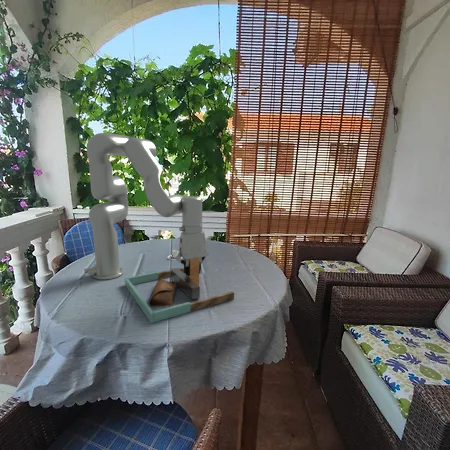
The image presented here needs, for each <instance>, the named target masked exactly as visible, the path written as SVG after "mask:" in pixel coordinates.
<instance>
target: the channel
mask: <svg viewBox="0 0 450 450" xmlns="http://www.w3.org/2000/svg"><path fill="white" fill-rule="evenodd" d="M177 268H178V267H177ZM178 269H179V270H181V271H182V272H183V273H184V266H183V267H179V268H178ZM157 272H158V271H157ZM184 274H185V273H184ZM185 275H186V274H185ZM160 278H162V279H164V278H171V269H169V270H164V271H159V272H158V279H157V280H159V279H160ZM234 299H235V291H230V292H225V293H221V294H218V295H215V296H210V297H208V298H207V297H206V298H203V299H200V300H196V301H192V302H189V303H190V312H195V311H197V310H201V309H203V308H207V307H212V306H214V305H217V304H221V303H225V302H229V301H231V300H234Z"/></svg>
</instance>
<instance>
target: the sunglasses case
mask: <svg viewBox="0 0 450 450" xmlns="http://www.w3.org/2000/svg"><path fill="white" fill-rule="evenodd" d="M178 287H179V286H178V285H177V284H175V283H174V282H171V281H167V280H165V279H164V278H160V279H157V282H156V284H155V286H154V288H153V291H152V292H151V293H152V294H151V297H150V300H149V306H151V307H172V306H174V296H175V294H176V291H177V288H178ZM151 307H150V308H151Z"/></svg>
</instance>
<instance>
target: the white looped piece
mask: <svg viewBox="0 0 450 450" xmlns="http://www.w3.org/2000/svg"><path fill="white" fill-rule="evenodd" d="M178 253H179V249H173V250H171V254H169V255H168V256H166V257H167V259H168V260H172V261H177V260H176V257H177V255H178ZM172 255H173V256H172ZM170 256H171V257H172V258H171V257H170ZM169 257H170V258H169ZM181 259H183V258H182V257H181Z"/></svg>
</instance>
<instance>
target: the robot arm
mask: <svg viewBox="0 0 450 450" xmlns="http://www.w3.org/2000/svg"><path fill="white" fill-rule="evenodd" d="M86 155H87V161H88V165H89V166H88V167H89V179H90V190H91V191H90V192H91V195H92V198H94V199H95V200H98V201H104V200H105V201H106V202H101V203H98V204H95V205H93V206H92V207H91V208H90V210H89V212H88V219H89V222H90V226H91V229H92V237H93V238H92V239H93V245H94V247H93V249H94V257H95V264H93V265H94V266H92V267H88V268H86V267H85V268H84V269H83V271H84V272H83V273H84V274H88V275H91V274H92V277H93V279H96V280H102V281H103V280H105V281H106V280H112V279H116V278H119V277H121V276H123V274H124V269H123V267H120V254H119V241H118V240H119V239H118V238H119V237H118V232H117V230H116V228H115V226H114V224H116V223H119V222H122V221H124V220H126V218H127V217H128V212H129V202H128V200H129V199H128V197H129V196H128V187H127V184H126V181H125V180H124V179H123V178H121V177H120V176H117V175H113V166H112V163H111V161H110V158H109V157H110V156H112V157H113V156H115V157H126V158H127V159H128V161H129V162H130V164H131V165H132V166H133V167H134V169H135V171H136V172H137V174H138V175H139V176H140V177H141V179H142V181H143V188H144V193H145V196H146V198H147V200H148V201H149V203H150V204H151V206H152V207H153V209H154V210H155V211H156V213H157V214H159V216H161V217H164V218H170V217H173V216H176V215H179V214H182V216H181V217H182V218H181V219H182V225H181V227H178V228H179V229H178V230H179V232H181V233H180V237H179V245H178V252H179V253H178V255H177V257H176V258H175V259H176V260H175V261H177V262H179V263H181V264H182V265H183V267H184V273H185V275H187V276H189V275H190V267H189V260H190V259H196V258H199V275H200V274H201V271H202V263H203V262H204V260H205V259H206V258H207V257H208V256H209V252H208V249H207V241H206V234H205V231H203V199H202V198H201V197H199V196H192V195H191V196H189V195H188V196H187V195H183V194H172V195H168V193H166V191H165V189H164V188H163V187H162V183H161V181H160V179H161V178H160V177H161V175H162V173H163V168H162V166H161V165H160V163H159V162H158V161H157V159H156V156H157V147H156V146H155V144H154V143H153V142H152V141H151V140H149V139H146V138H138V137H133V136H128V135H123V134H117V133H112V132H111V133H110V132H100V133H96V134H94V135H92V136H91V137H90V138H89V140H88V142H87V144H86ZM107 200H108V202H107ZM181 257H182V258H181Z"/></svg>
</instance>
